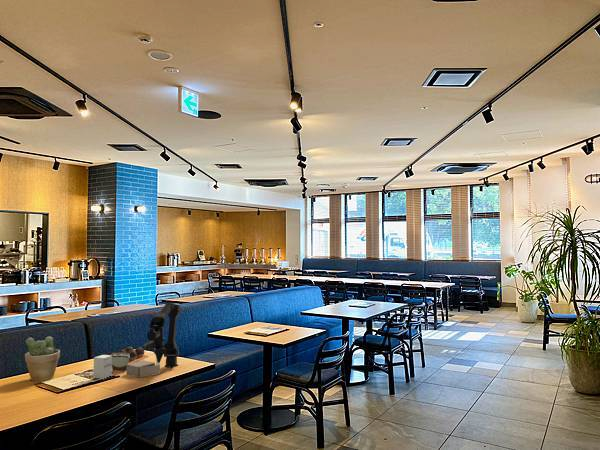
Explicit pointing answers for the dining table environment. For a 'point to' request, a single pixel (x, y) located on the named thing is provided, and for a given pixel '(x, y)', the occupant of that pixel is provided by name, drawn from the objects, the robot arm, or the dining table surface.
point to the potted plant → (41, 359)
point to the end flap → (149, 370)
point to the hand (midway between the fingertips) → (158, 362)
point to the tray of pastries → (133, 354)
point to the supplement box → (102, 366)
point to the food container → (120, 361)
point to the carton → (137, 367)
